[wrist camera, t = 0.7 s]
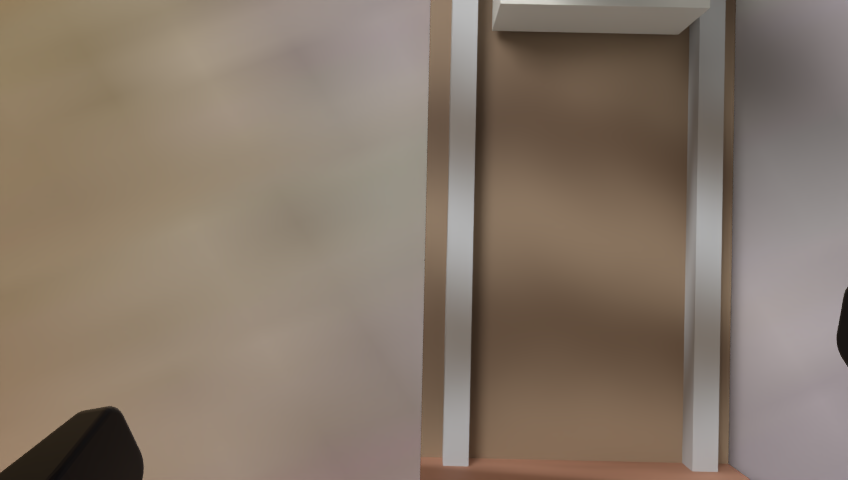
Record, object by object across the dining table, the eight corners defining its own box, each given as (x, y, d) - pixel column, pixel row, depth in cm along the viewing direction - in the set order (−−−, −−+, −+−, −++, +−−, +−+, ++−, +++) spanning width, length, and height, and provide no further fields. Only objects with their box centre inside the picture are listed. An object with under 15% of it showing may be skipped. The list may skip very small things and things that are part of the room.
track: (713, 512, 22) (788, 582, 17) (419, 506, 22) (418, 573, 17) (725, -187, 22) (801, -298, 18) (435, -193, 22) (437, -306, 18)
